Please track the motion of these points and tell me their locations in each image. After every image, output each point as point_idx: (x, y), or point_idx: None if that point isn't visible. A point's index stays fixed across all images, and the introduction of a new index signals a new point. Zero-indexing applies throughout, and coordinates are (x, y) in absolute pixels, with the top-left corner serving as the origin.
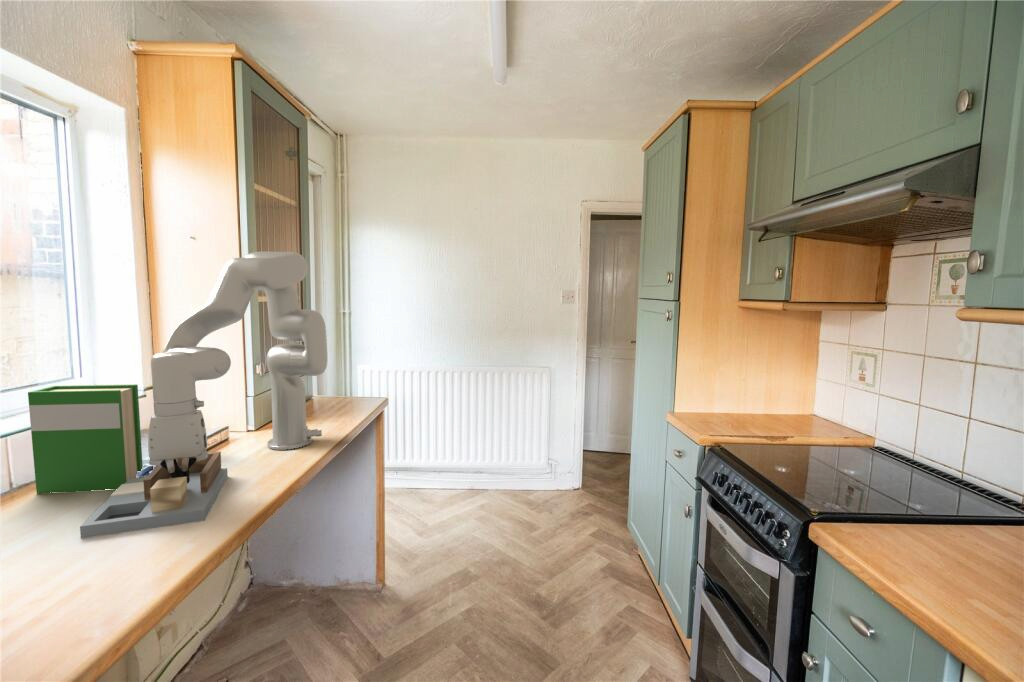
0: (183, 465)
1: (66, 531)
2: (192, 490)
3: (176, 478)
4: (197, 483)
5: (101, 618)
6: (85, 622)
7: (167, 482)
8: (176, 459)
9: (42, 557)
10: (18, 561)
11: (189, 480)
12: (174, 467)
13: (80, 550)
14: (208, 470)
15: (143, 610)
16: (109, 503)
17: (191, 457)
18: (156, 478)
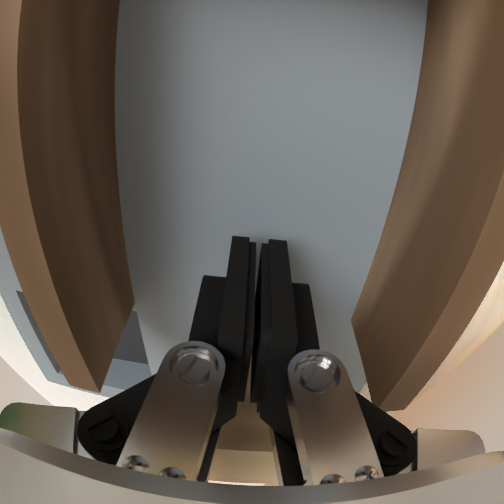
0: (287, 455)
1: (2, 304)
2: (314, 271)
3: (256, 455)
4: (340, 166)
5: (226, 482)
6: (213, 482)
7: (225, 467)
8: (204, 446)
9: (52, 385)
10: (27, 377)
11: (307, 286)
12: (217, 440)
13: (98, 395)
14: (430, 374)
15: (262, 484)
16: (2, 269)
17: (365, 461)
18: (83, 284)
